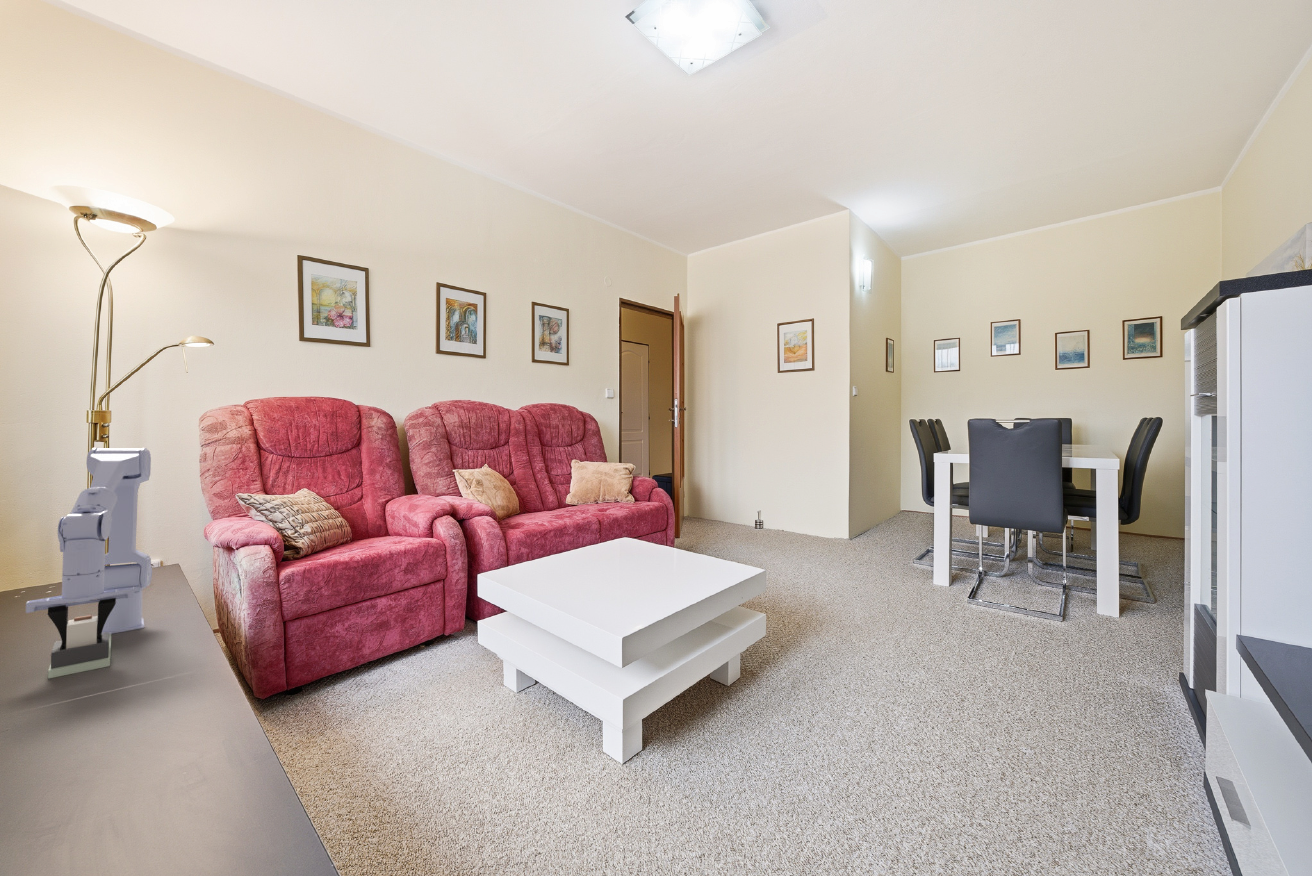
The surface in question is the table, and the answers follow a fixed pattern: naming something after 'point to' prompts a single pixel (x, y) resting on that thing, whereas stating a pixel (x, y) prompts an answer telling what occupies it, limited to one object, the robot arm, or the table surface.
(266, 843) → the table surface
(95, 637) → the plug
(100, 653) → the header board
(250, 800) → the table surface
